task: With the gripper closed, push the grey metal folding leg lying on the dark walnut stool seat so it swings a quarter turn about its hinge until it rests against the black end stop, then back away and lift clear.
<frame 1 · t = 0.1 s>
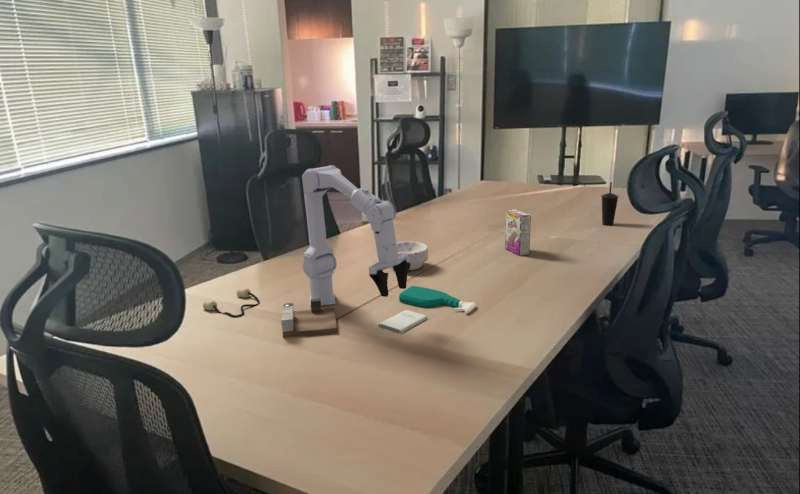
hand: (393, 292, 159), 11 cm above the table, tool pointing down, fingers open, 7 cm apart
candy bar box: (516, 252, 227), on the table
stool seat: (310, 324, 165), on the table
spray bottle: (437, 305, 178), on the table
cable: (238, 307, 181), on the table
external hard drive: (403, 324, 164), on the table
folding leg: (288, 316, 162), point 4 cm above the table, hinge at 0.0°
drinking cup: (607, 224, 264), on the table
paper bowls: (408, 267, 213), on the table
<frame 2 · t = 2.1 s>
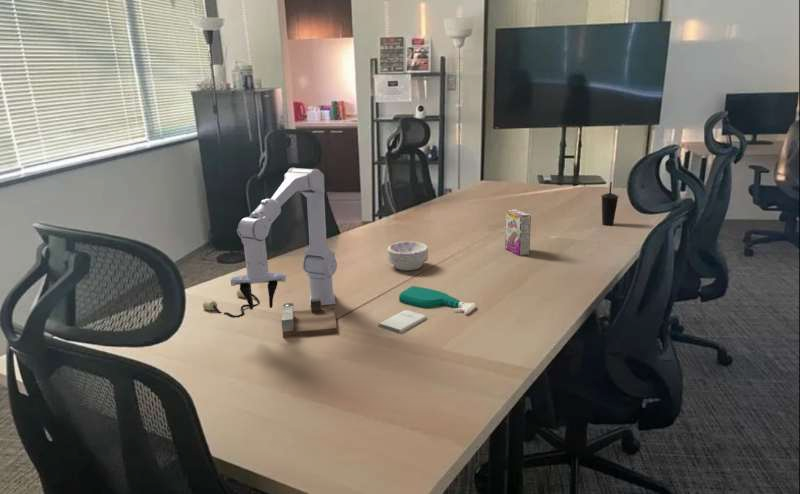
hand: (261, 307, 156), 8 cm above the table, tool pointing down, fingers open, 5 cm apart
nothing on the table moved.
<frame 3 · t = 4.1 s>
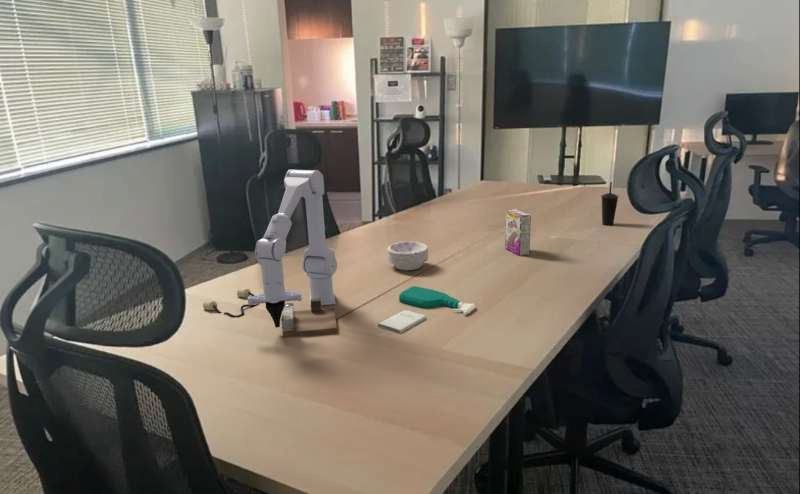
hand: (277, 325, 159), 2 cm above the table, tool pointing down, fingers closed
folding leg: (288, 316, 162), point 4 cm above the table, hinge at 0.0°, touching gripper
everything else where it was.
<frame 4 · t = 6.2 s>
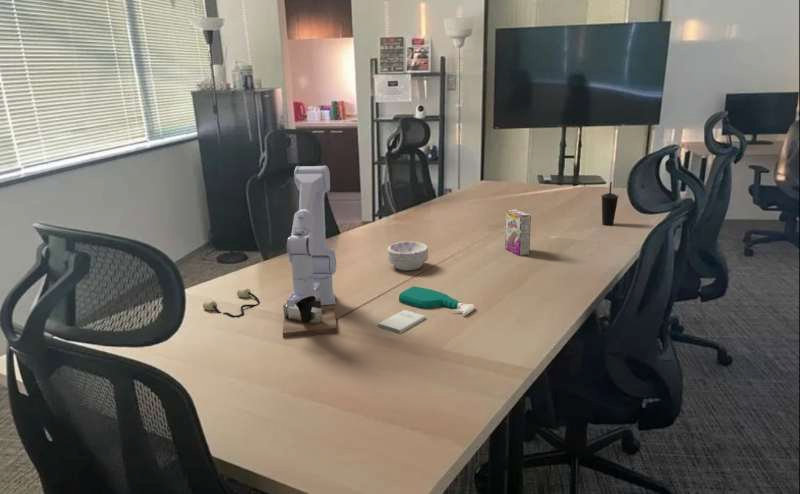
hand: (306, 321, 161), 3 cm above the table, tool pointing down, fingers closed, pressing on folding leg
folding leg: (301, 312, 164), point 4 cm above the table, hinge at 53.3°, touching gripper
everything else where it was.
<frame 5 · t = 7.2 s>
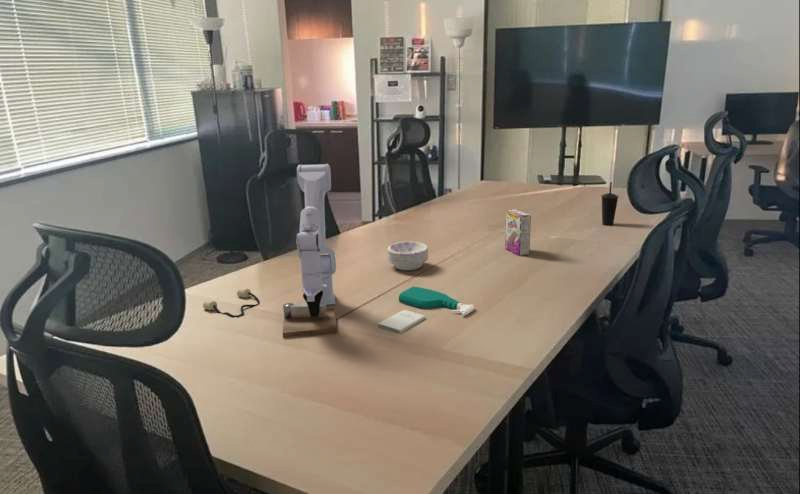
hand: (314, 316, 164), 3 cm above the table, tool pointing down, fingers closed, pressing on folding leg
folding leg: (304, 310, 166), point 4 cm above the table, hinge at 79.4°, touching gripper
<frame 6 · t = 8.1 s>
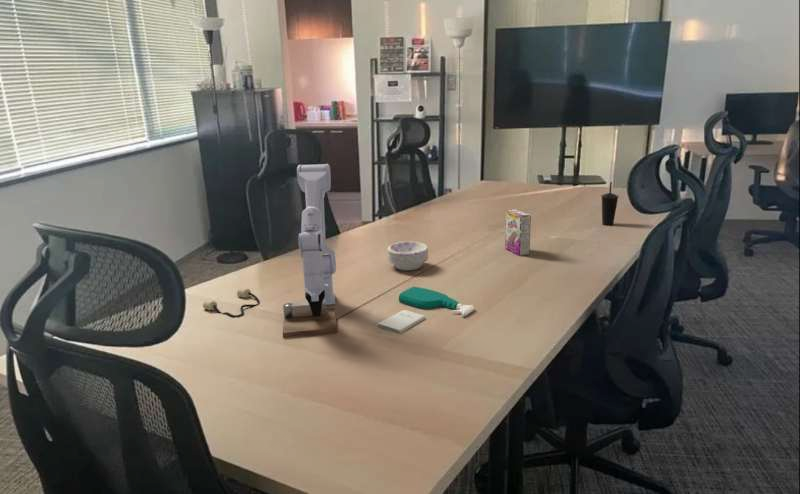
hand: (316, 315, 165), 2 cm above the table, tool pointing down, fingers closed
folding leg: (304, 308, 167), point 4 cm above the table, hinge at 90.0°
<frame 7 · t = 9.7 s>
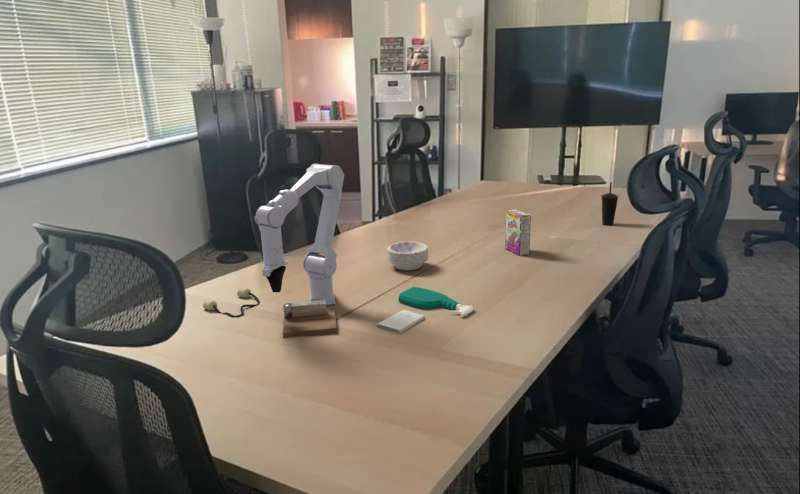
hand: (276, 291, 165), 9 cm above the table, tool pointing down, fingers closed
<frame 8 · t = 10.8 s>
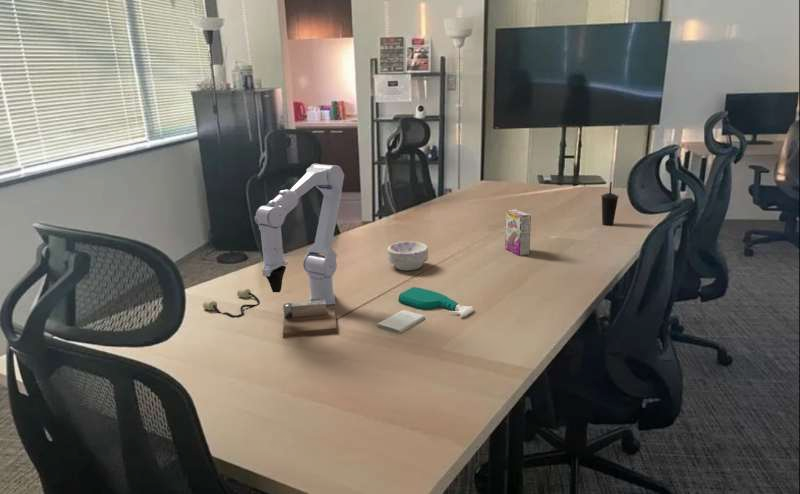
hand: (276, 291, 165), 9 cm above the table, tool pointing down, fingers closed
at the end: folding leg at +90° (first picture: +0°); external hard drive moved 1.1 cm from its start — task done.
